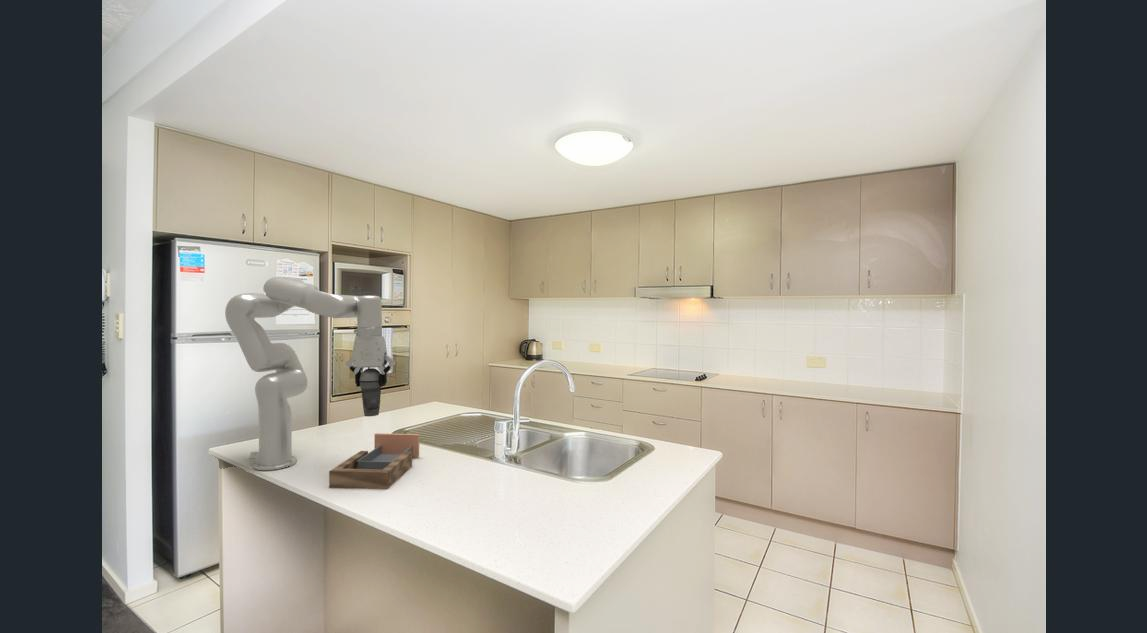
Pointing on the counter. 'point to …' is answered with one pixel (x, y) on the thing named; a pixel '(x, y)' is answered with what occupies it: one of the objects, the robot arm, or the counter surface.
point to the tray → (389, 450)
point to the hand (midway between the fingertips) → (371, 385)
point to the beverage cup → (370, 391)
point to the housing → (368, 473)
